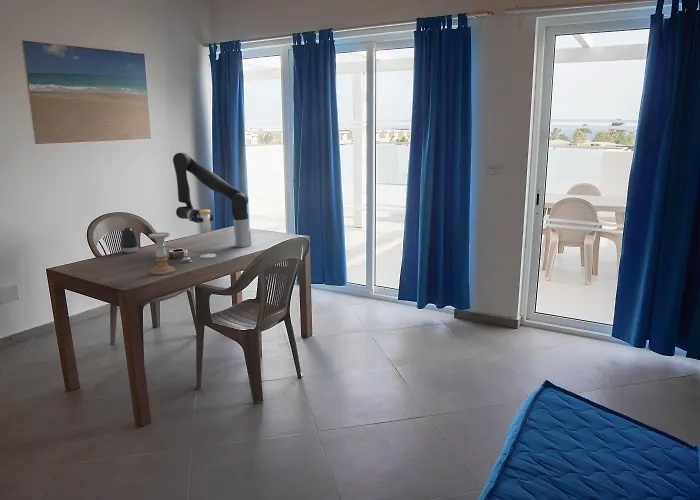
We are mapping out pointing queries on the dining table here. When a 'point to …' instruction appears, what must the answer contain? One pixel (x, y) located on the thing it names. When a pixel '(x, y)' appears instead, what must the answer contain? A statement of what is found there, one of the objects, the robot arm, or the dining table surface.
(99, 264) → the dining table surface
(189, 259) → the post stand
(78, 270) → the dining table surface
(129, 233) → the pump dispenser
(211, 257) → the coaster
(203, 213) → the glass jar
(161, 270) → the candle holder
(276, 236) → the dining table surface
